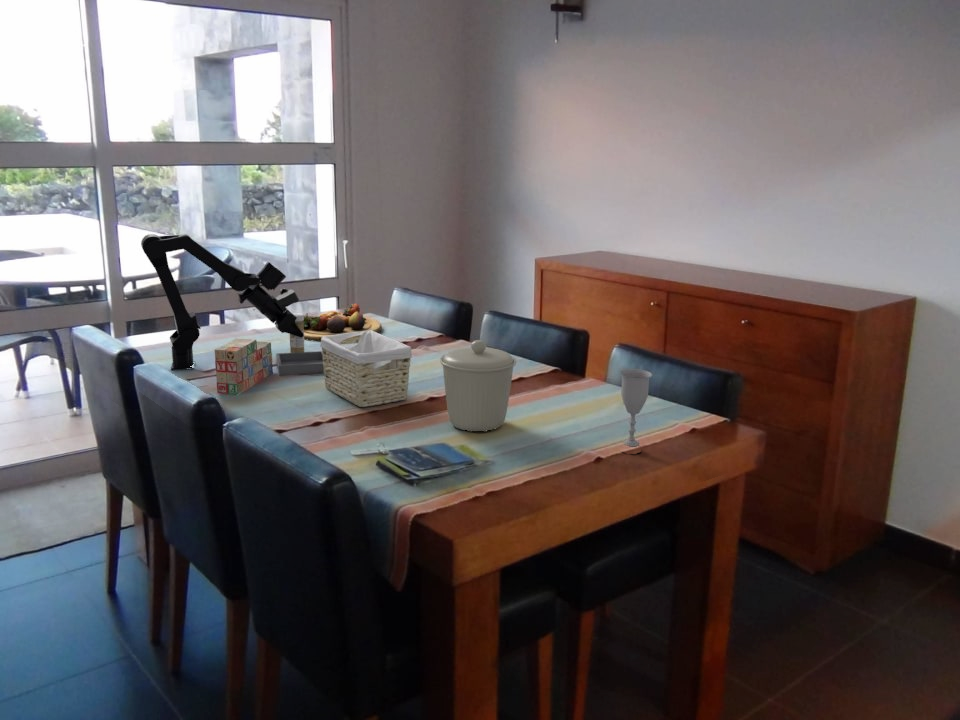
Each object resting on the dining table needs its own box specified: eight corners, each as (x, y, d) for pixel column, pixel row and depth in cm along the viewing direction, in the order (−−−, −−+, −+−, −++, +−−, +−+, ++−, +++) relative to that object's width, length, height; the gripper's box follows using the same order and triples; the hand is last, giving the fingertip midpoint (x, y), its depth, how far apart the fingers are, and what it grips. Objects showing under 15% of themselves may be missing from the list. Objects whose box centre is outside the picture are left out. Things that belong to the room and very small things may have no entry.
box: (276, 363, 254) (276, 353, 253) (323, 360, 258) (323, 351, 257) (279, 376, 241) (278, 365, 240) (328, 373, 245) (328, 363, 244)
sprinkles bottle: (288, 355, 262) (286, 313, 259) (302, 354, 264) (301, 311, 261) (292, 359, 258) (290, 316, 255) (307, 357, 260) (305, 314, 257)
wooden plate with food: (336, 317, 317) (335, 295, 315) (400, 329, 299) (399, 306, 297) (269, 334, 293) (267, 310, 290) (334, 348, 274) (333, 323, 272)
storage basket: (319, 387, 232) (317, 335, 228) (372, 378, 240) (371, 328, 237) (358, 411, 213) (357, 354, 209) (414, 401, 221) (414, 346, 217)
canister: (442, 412, 213) (442, 330, 208) (514, 414, 213) (516, 332, 207) (436, 437, 196) (436, 349, 190) (514, 439, 195) (517, 351, 190)
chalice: (611, 444, 193) (616, 368, 188) (641, 444, 194) (646, 368, 189) (619, 456, 186) (624, 378, 181) (649, 456, 187) (655, 378, 182)
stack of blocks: (253, 371, 245) (250, 330, 242) (273, 373, 244) (271, 331, 241) (216, 393, 225) (213, 348, 222) (238, 395, 224) (236, 350, 220)
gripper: (288, 287, 245) (326, 321, 253) (275, 276, 262) (311, 309, 269) (261, 315, 244) (301, 349, 252) (250, 303, 261) (288, 335, 268)
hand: (301, 334), depth 260 cm, fingers closed on sprinkles bottle, 4 cm apart
